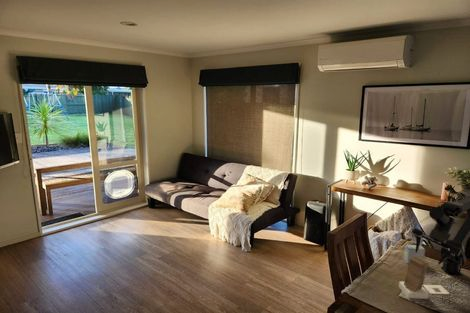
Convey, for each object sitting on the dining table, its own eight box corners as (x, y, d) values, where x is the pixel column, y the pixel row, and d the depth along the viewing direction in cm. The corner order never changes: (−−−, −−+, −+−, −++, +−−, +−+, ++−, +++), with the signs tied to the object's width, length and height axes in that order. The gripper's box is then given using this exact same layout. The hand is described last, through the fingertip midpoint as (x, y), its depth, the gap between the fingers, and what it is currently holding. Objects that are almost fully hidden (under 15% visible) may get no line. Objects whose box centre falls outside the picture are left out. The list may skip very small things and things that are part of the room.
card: (440, 285, 134) (440, 284, 134) (449, 294, 128) (449, 293, 128) (422, 285, 135) (422, 284, 134) (430, 294, 129) (430, 293, 129)
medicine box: (419, 260, 156) (421, 245, 154) (423, 265, 151) (425, 249, 150) (403, 259, 157) (405, 244, 155) (407, 264, 152) (409, 248, 151)
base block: (416, 287, 134) (417, 281, 133) (427, 299, 126) (428, 293, 125) (398, 287, 134) (399, 281, 133) (408, 299, 126) (408, 292, 126)
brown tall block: (410, 281, 132) (416, 255, 129) (421, 288, 128) (428, 261, 125) (403, 284, 130) (410, 258, 127) (415, 291, 126) (422, 264, 123)
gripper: (418, 213, 135) (403, 243, 134) (467, 234, 123) (451, 267, 121) (420, 220, 144) (405, 248, 142) (466, 240, 131) (450, 271, 129)
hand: (426, 258), depth 133 cm, fingers open, 9 cm apart
